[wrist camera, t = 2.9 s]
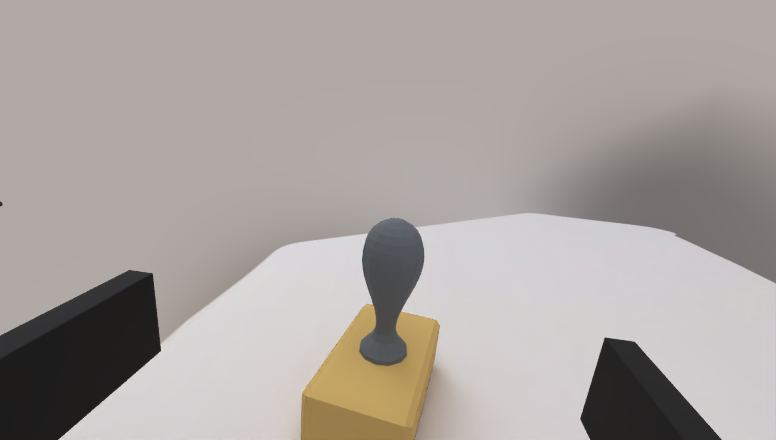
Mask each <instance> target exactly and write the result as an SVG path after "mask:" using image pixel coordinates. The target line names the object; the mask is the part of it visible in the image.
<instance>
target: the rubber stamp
mask: <svg viewBox="0 0 776 440" xmlns="http://www.w3.org/2000/svg"><path fill="white" fill-rule="evenodd" d="M423 263H424V248H423V243H422V239H421V236H420V234H419V232H418V230H417V229H416V228H415V227H414V226H413V225H412V224H410V223H408V222H407V221H405V220H403V219H399V218H391V219H387V220H384V221H381V222H380V223H378V224H377V225H375V226H374V227H373V228H372V229H371V231H370V232H369V234H368V236H367V238H366V241H365V245H364V249H363V257H362V264H363V272H364V277H365V280H366V284H367V287H368V290H369V293H370V296H371V299H372V302H373V305H370V304H367V305H365V306H364V307H363V308H362V309H361V310H360V312H359V313H358V315H357V316H356V317H355V319H354V320H353V322H352V323H351V325H350V326H349V327H348V329H347V330H346V332H345V333H344V334H343V336H342V337H341V339H340V340H339V342H338V343H337V344H336V346H335V347H334V349H333V350H332V351H331V353H330V354H329V356H328V357H327V359H326V360H325V361H324V363H323V364H322V366H321V367H320V368H319V370H318V371H317V373H316V374H315V376H314V377H313V378H312V380H311V381H310V383H309V384H308V385H307V387H306V388H305V390H304V391H303V393H302V412H301V440H415V436H416V432H417V428H418V424H419V420H420V416H421V412H422V408H423V404H424V400H425V396H426V392H427V388H428V384H429V380H430V376H431V372H432V368H433V364H434V360H435V353H436V347H437V340H438V334H439V327H440V325H439V324H438V322H437V320H434V319H430V318H426V317H422V316H417V315H413V314H409V313H404V312H401V310H402V308H403V306H404V304H405V303H406V301H407V299H408V297H409V296H410V294H411V292H412V291H413V289H414V287H415V285H416V283H417V281H418V279H419V277H420V275H421V272H422V268H423Z"/></svg>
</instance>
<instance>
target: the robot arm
mask: <svg viewBox="0 0 776 440" xmlns="http://www.w3.org/2000/svg"><path fill="white" fill-rule="evenodd" d="M0 206H2V202H0ZM160 351H161V346H160V337H159V327H158V318H157V309H156V300H155V291H154V281H153V274H152V273H146V272H139V271H132V270H128V271H127V272H125V273H123V274H121V275H119V276H117V277H115V278H113V279H111V280H109V281H107V282H105V283H103V284H101V285H99V286H97V287H95V288H93V289H91V290H89V291H87V292H85V293H83V294H81V295H79V296H77V297H75V298H73V299H72V300H69V301H68V302H66V303H64V304H62V305H60V306H58V307H56V308H54V309H52V310H50V311H48V312H46V313H44V314H42V315H40V316H38V317H36V318H34V319H32V320H30V321H28V322H26V323H24V324H22V325H20V326H18V327H16V328H14V329H12V330H10V331H9V332H7V333H4V334H3V335H1V336H0V440H58V439H60V438H61V437H62V436H63V435H64V434H65V433H66V432H68V431H69V430H70V429H71V428H72V427H73V426H75V425H76V424H77V423H78V422H79V421H80V420H82V419H83V418H84V417H85V416H86V415H87V414H88V413H90V412H91V411H92V410H93V409H94V408H95V407H97V406H98V405H99V404H100V403H101V402H102V401H104V400H105V399H106V398H107V397H108V396H109V395H110V394H112V393H113V392H114V391H115V390H116V389H117V388H119V387H120V386H121V385H122V384H123V383H124V382H126V381H127V380H128V379H129V378H130V377H131V376H132V375H134V374H135V373H136V372H137V371H138V370H139V369H141V368H142V367H143V366H144V365H145V364H146V363H148V362H149V361H150V360H151V359H152V358H153V357H154V356H156V355H157V354H158V353H159V352H160ZM580 419H581V421H582V423H583V426H584V428H585V430H586V432H587V434H588V436H589V438H590V440H722V439H721V438H720V437H719V436H718V435H717V434H716V433H715V432H714V430H713V429H712V428H711V427H710V426H709V425H708V424H707V423H706V421H705V420H704V419H703V418H702V417H701V416H700V415H699V414H698V412H697V411H696V410H695V409H694V408H693V407H692V406H691V405H690V403H689V402H688V401H687V400H686V399H685V398H684V397H683V396H682V394H681V393H680V392H679V391H678V390H677V389H676V388H675V387H674V385H673V384H672V383H671V382H670V381H669V380H668V379H667V378H666V376H665V375H664V374H663V373H662V372H661V371H660V370H659V369H658V367H657V366H656V365H655V364H654V363H653V362H652V361H651V360H650V358H649V357H648V356H647V355H646V354H645V353H644V352H643V351H642V349H641V348H640V347H639V346H638V345H637V344H636V343H635V342H632V341H625V340H618V339H611V338H605V339H604V342H603V345H602V349H601V352H600V355H599V359H598V362H597V365H596V369H595V372H594V375H593V379H592V382H591V385H590V388H589V392H588V395H587V398H586V402H585V405H584V408H583V412H582V415H581V418H580Z"/></svg>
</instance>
